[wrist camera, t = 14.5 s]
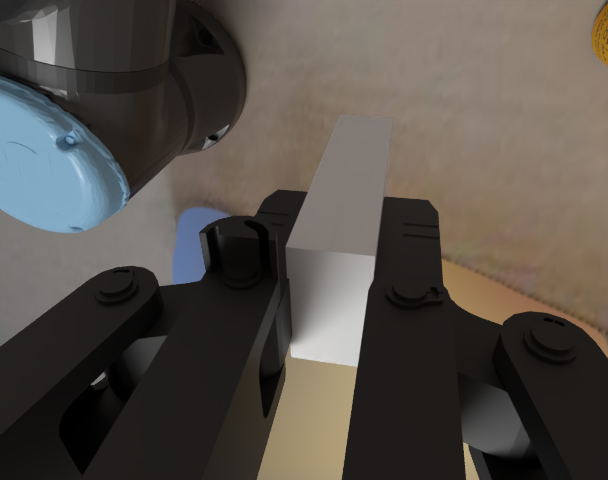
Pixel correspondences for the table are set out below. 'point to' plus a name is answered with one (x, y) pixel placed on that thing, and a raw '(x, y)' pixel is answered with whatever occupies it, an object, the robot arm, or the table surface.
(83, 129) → the robot arm
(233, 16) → the table surface
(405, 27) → the table surface
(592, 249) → the table surface
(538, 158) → the table surface
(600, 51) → the beer can
